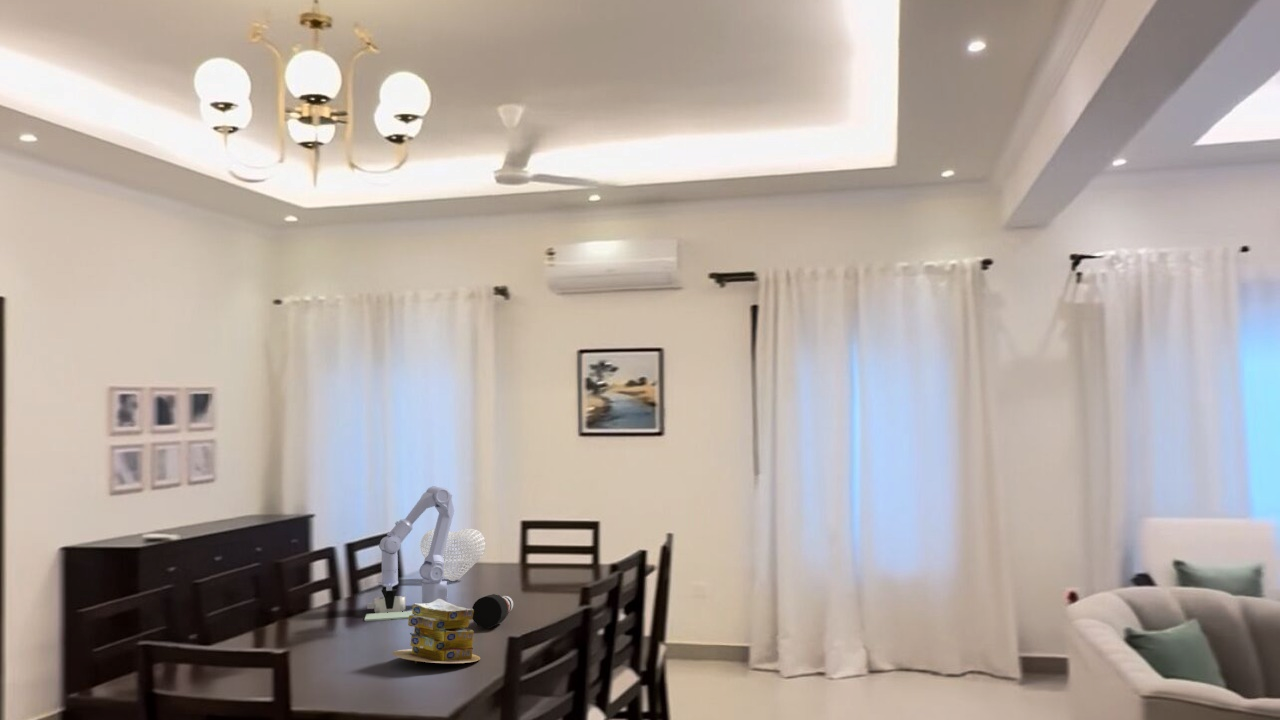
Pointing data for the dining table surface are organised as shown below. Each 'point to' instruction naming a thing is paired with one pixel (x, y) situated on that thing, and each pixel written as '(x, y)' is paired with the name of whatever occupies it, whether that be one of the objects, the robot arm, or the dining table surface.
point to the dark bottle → (491, 610)
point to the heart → (457, 551)
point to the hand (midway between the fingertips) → (389, 607)
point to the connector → (380, 605)
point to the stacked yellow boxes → (440, 634)
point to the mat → (388, 616)
